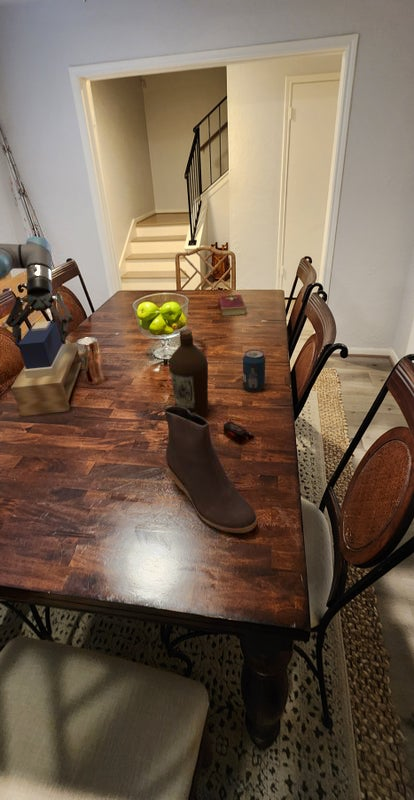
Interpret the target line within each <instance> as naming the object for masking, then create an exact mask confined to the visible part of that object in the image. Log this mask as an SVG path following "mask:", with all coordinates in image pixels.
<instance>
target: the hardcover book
mask: <svg viewBox="0 0 414 800" xmlns="http://www.w3.org/2000/svg"><path fill="white" fill-rule="evenodd" d="M218 305H219V310H220V314H221V317H239V316H240V317H241V316H247V312H246V309H247V306H246V303H245V301H244V297H243V295H242V294H232V295H231V294H227V295H218Z"/></svg>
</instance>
